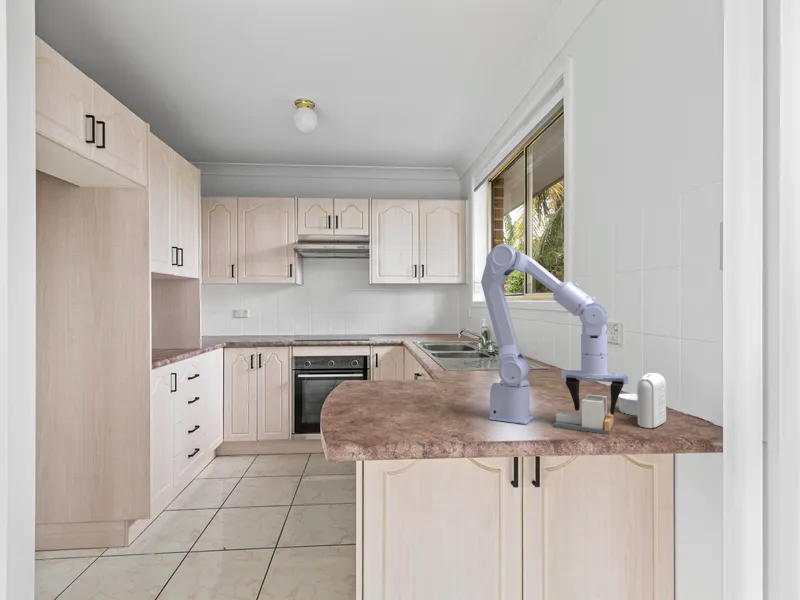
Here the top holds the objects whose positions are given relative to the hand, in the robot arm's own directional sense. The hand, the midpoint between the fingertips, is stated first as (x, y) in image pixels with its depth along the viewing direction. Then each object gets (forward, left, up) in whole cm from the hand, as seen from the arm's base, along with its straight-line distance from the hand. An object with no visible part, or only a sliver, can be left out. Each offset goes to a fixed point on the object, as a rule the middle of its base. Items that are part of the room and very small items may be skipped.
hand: (594, 411), depth 105 cm
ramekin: (+8, +21, -4) cm, 23 cm away
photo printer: (+12, +10, -4) cm, 16 cm away
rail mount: (-2, 0, -4) cm, 4 cm away
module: (0, 0, -3) cm, 3 cm away
